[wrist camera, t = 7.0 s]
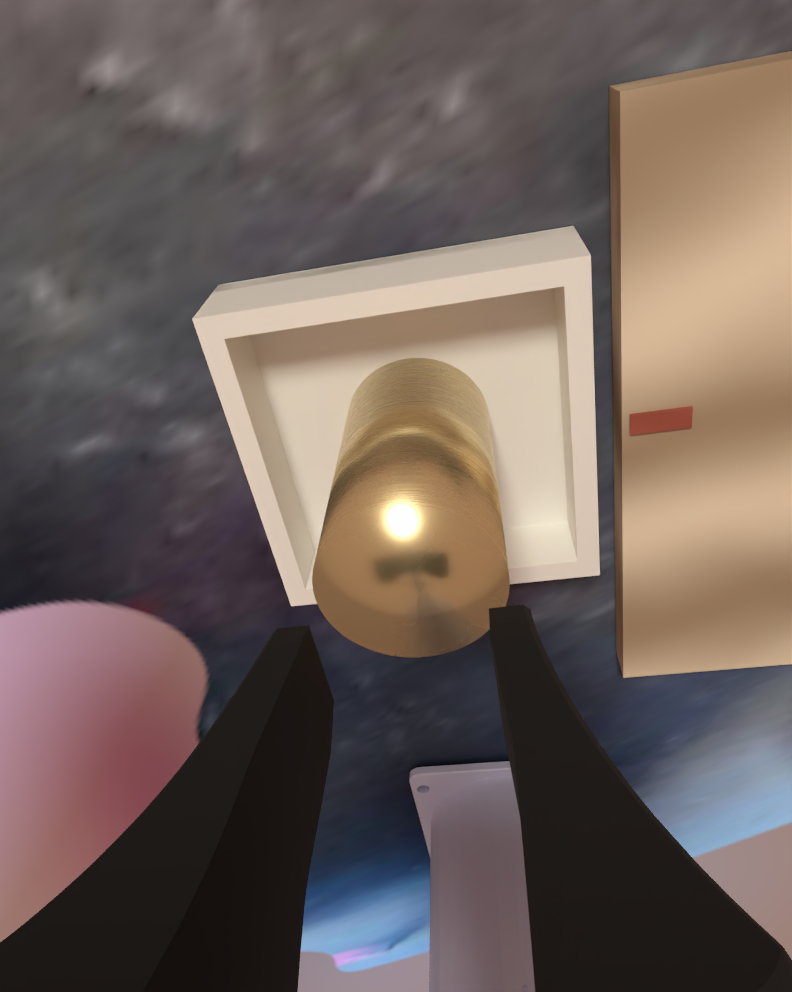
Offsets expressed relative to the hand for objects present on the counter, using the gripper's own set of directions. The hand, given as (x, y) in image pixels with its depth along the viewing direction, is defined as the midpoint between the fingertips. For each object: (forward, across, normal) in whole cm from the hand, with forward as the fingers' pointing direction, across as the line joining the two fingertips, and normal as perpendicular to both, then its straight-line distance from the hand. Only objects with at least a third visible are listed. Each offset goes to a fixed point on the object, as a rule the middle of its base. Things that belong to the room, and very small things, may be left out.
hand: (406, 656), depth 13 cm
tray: (+9, 0, 0) cm, 9 cm away
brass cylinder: (+9, 0, 0) cm, 9 cm away
